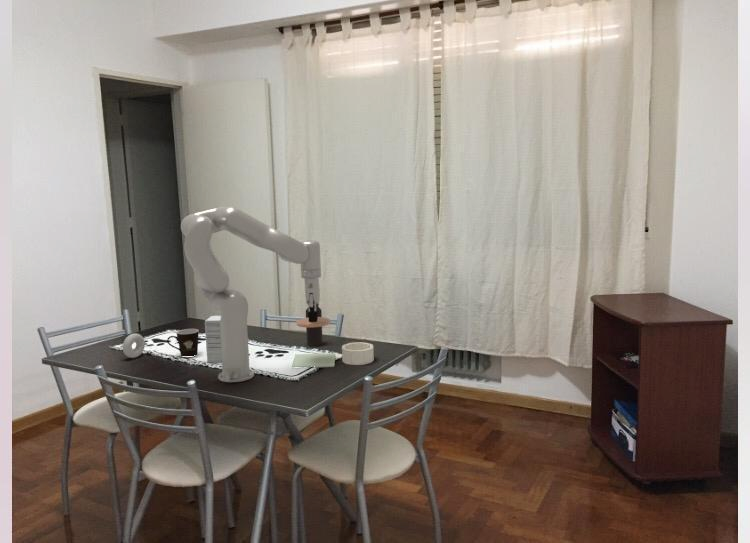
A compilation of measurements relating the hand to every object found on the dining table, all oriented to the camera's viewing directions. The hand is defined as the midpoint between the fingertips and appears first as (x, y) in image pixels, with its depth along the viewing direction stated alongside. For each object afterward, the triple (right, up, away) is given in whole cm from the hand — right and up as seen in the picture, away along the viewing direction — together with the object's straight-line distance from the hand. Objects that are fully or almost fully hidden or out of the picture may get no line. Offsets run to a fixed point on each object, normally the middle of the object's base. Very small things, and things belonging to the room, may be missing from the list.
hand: (313, 320), depth 224 cm
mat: (0, -16, +2) cm, 16 cm away
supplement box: (-37, -16, +8) cm, 41 cm away
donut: (-73, -16, +12) cm, 76 cm away
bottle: (-2, -13, +26) cm, 29 cm away
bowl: (+17, -16, +2) cm, 24 cm away
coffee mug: (-53, -16, +14) cm, 57 cm away
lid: (0, -1, 0) cm, 1 cm away
